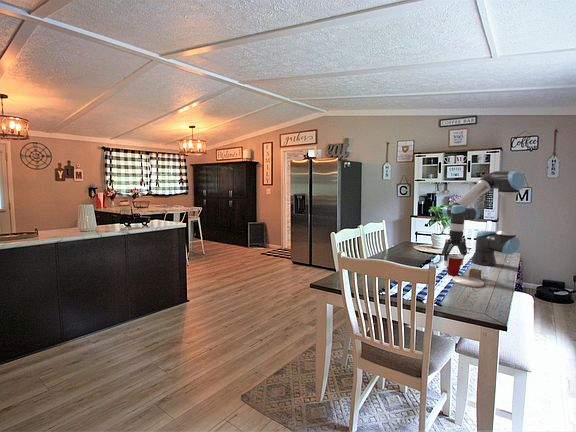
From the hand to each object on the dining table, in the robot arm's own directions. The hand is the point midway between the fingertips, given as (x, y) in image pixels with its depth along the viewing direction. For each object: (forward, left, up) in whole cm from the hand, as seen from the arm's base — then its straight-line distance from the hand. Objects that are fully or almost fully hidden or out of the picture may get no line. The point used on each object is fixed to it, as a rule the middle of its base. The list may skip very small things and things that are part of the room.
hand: (453, 265), depth 212 cm
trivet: (+4, +15, -6) cm, 17 cm away
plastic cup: (0, 0, -6) cm, 6 cm away
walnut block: (-8, +9, -6) cm, 13 cm away
